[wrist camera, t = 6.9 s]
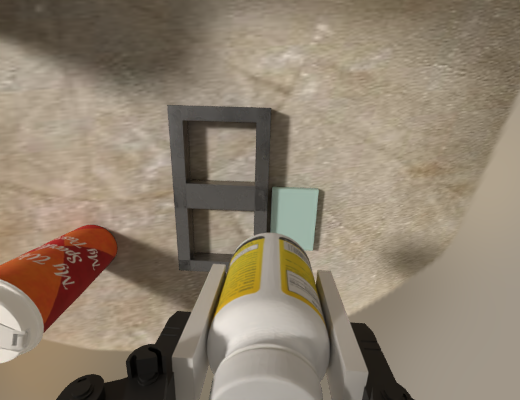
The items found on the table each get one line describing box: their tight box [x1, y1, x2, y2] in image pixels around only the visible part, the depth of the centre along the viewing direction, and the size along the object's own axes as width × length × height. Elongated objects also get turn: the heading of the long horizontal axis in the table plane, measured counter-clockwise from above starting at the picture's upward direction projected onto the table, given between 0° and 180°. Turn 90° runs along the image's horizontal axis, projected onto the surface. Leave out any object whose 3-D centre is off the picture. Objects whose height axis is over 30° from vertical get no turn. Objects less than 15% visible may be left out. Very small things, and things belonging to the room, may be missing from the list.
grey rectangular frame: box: [167, 105, 271, 272], centre depth 32 cm, size 20×11×2 cm, turn 178°
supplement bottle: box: [207, 233, 330, 400], centre depth 13 cm, size 5×5×10 cm
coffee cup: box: [0, 225, 117, 363], centre depth 29 cm, size 8×8×15 cm
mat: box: [270, 187, 319, 251], centre depth 33 cm, size 8×6×1 cm
